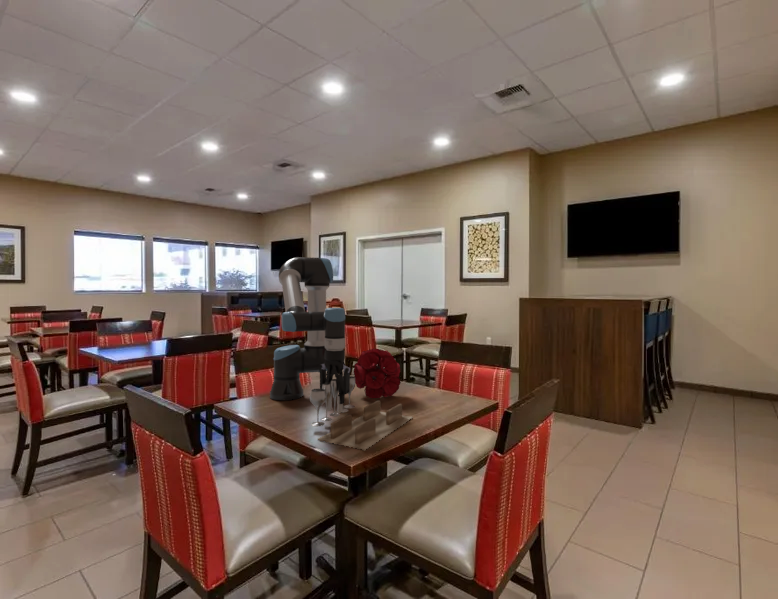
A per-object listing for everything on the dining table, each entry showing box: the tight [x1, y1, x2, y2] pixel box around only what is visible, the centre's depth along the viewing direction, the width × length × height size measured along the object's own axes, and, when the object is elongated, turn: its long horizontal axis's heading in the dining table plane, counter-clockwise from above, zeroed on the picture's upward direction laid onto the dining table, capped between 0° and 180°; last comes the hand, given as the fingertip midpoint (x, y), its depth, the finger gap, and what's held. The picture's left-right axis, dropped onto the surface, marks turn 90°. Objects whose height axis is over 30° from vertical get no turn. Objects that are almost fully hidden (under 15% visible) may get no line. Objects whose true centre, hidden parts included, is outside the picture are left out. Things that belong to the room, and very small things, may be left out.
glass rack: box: [317, 400, 414, 451], centre depth 145 cm, size 18×36×6 cm, turn 153°
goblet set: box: [309, 375, 356, 427], centre depth 152 cm, size 28×6×13 cm, turn 157°
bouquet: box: [353, 348, 401, 399], centre depth 191 cm, size 22×24×30 cm
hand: (334, 410), depth 152 cm, fingers closed on goblet set, 4 cm apart
